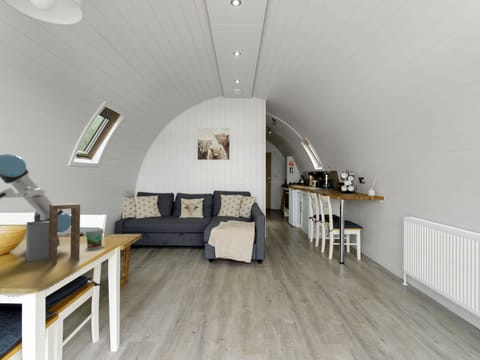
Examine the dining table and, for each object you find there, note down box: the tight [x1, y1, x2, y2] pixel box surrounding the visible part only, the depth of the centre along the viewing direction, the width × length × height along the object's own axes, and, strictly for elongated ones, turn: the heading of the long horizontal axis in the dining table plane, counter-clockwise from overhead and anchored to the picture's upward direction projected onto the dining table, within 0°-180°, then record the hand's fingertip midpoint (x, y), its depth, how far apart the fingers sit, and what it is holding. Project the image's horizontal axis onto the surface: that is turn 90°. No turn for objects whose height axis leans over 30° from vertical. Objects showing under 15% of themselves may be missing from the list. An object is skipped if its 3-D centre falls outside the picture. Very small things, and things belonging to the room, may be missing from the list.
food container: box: [85, 228, 105, 248], centre depth 166 cm, size 12×6×10 cm, turn 168°
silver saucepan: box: [3, 187, 46, 199], centre depth 132 cm, size 9×22×4 cm, turn 134°
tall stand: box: [48, 202, 81, 265], centre depth 136 cm, size 10×12×30 cm
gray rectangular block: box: [25, 221, 49, 263], centre depth 139 cm, size 8×10×20 cm
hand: (12, 190), depth 131 cm, fingers closed on silver saucepan, 3 cm apart
